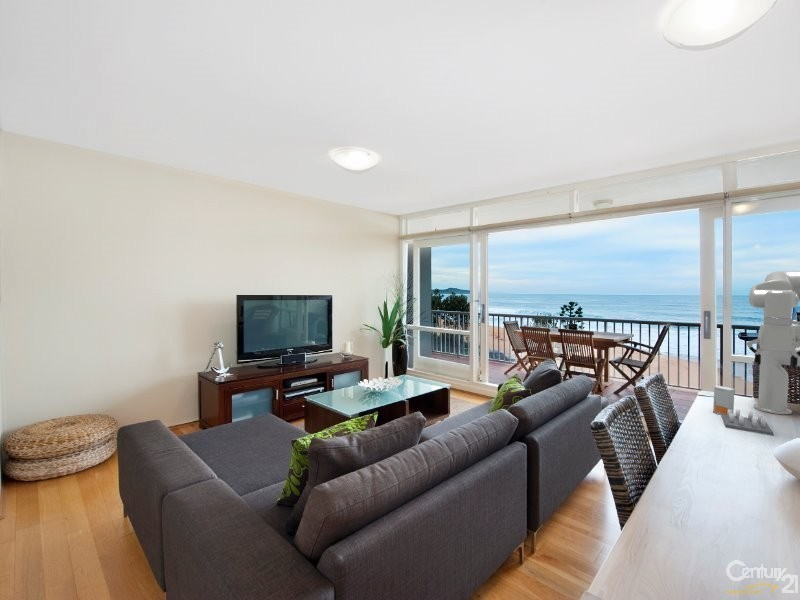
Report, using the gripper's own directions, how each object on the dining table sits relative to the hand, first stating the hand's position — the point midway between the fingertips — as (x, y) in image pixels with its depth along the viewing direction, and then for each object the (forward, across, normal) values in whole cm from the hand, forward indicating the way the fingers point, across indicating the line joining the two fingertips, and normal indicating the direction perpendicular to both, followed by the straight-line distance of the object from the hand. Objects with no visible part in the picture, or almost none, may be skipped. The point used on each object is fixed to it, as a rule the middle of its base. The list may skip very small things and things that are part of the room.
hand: (775, 365), depth 146 cm
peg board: (+27, +7, -5) cm, 28 cm away
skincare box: (+27, +13, -18) cm, 35 cm away
